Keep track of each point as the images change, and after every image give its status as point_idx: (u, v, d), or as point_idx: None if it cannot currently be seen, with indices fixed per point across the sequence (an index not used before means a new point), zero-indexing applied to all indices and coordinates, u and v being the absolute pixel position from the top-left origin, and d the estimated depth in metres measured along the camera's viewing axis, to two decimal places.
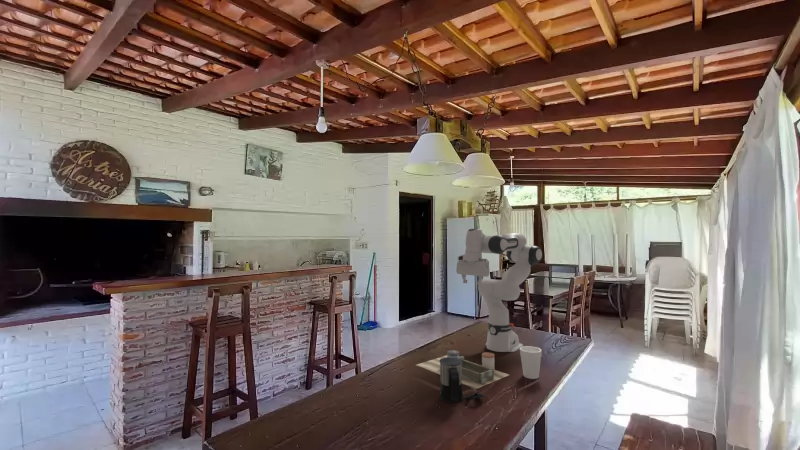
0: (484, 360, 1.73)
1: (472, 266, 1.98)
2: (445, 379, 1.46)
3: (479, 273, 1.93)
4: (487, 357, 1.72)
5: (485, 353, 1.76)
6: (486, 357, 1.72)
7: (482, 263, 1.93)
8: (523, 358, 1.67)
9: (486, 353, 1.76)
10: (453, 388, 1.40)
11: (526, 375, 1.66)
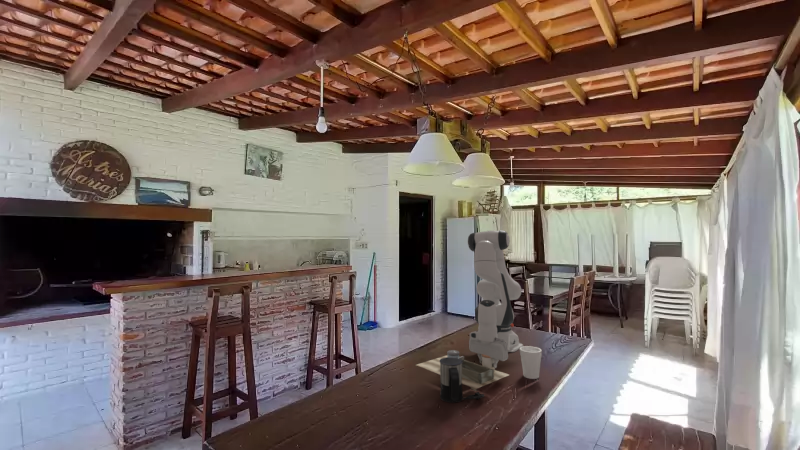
0: (484, 360, 1.73)
1: (487, 346, 1.73)
2: (445, 379, 1.46)
3: (497, 357, 1.69)
4: (487, 357, 1.72)
5: None
6: (486, 357, 1.72)
7: (499, 345, 1.68)
8: (523, 358, 1.67)
9: None
10: (453, 388, 1.40)
11: (526, 375, 1.66)
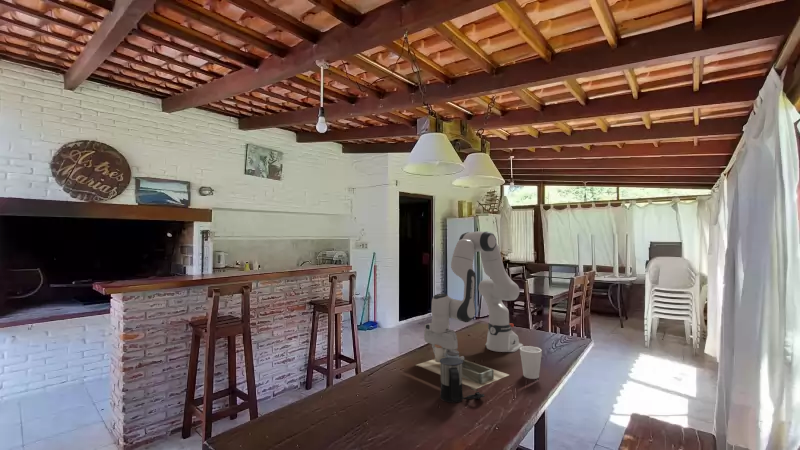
0: (436, 350, 1.83)
1: (439, 337, 1.83)
2: (446, 379, 1.46)
3: (447, 347, 1.79)
4: (438, 347, 1.82)
5: None
6: (438, 347, 1.82)
7: (449, 336, 1.78)
8: (523, 358, 1.67)
9: None
10: (453, 388, 1.40)
11: (526, 375, 1.66)
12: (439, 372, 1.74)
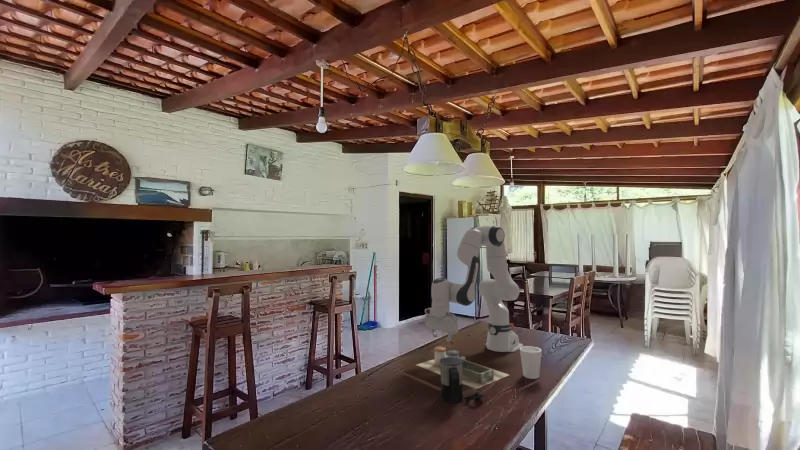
0: (436, 354, 1.82)
1: (440, 321, 1.83)
2: (446, 379, 1.46)
3: (448, 330, 1.79)
4: (438, 351, 1.82)
5: (437, 347, 1.86)
6: (437, 351, 1.82)
7: (450, 319, 1.78)
8: (523, 358, 1.67)
9: (438, 347, 1.86)
10: (453, 388, 1.40)
11: (526, 375, 1.66)
12: (439, 372, 1.74)
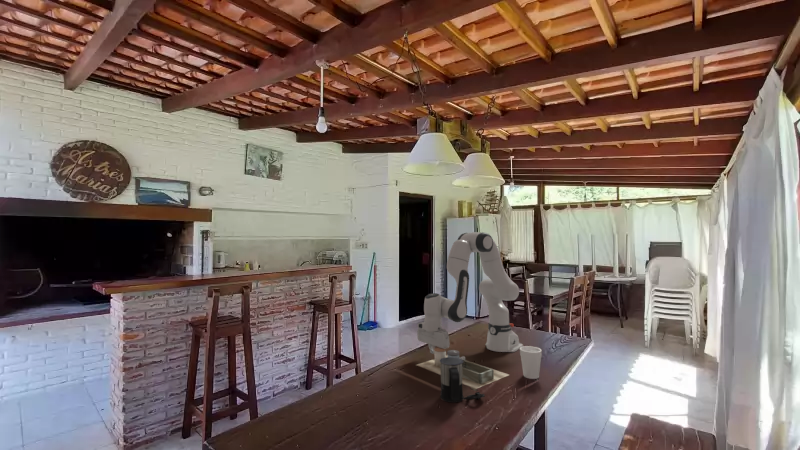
0: (436, 354, 1.83)
1: (432, 335, 1.88)
2: (446, 379, 1.46)
3: (439, 345, 1.83)
4: (438, 351, 1.82)
5: (437, 347, 1.86)
6: (437, 351, 1.82)
7: (441, 334, 1.82)
8: (523, 358, 1.67)
9: (438, 347, 1.86)
10: (453, 388, 1.40)
11: (526, 375, 1.66)
12: (439, 372, 1.74)
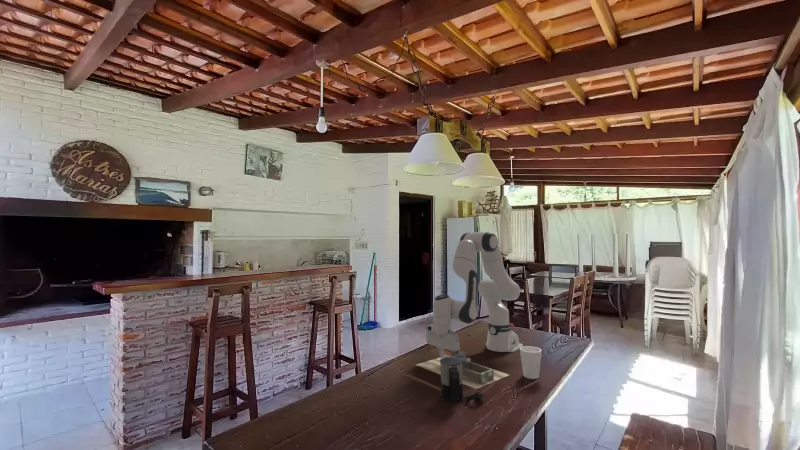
0: None
1: (441, 338, 1.82)
2: (446, 379, 1.46)
3: (449, 348, 1.78)
4: (448, 354, 1.77)
5: None
6: (447, 354, 1.77)
7: (451, 337, 1.77)
8: (523, 358, 1.67)
9: None
10: (453, 388, 1.40)
11: (526, 375, 1.66)
12: (439, 372, 1.74)
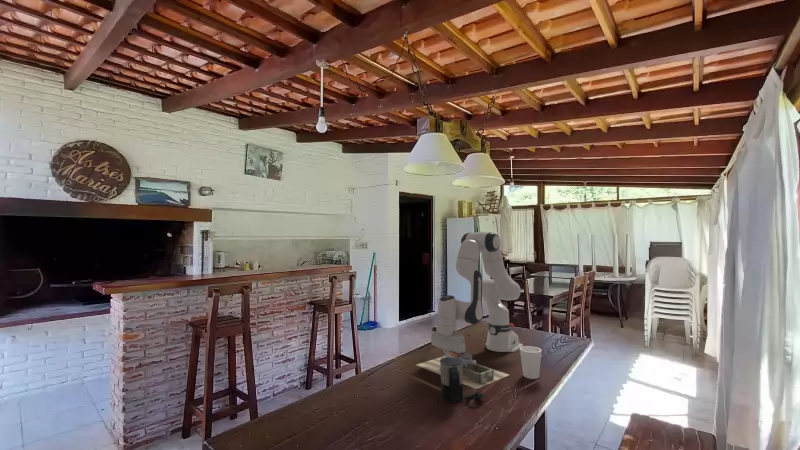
0: None
1: (447, 340, 1.79)
2: (446, 379, 1.46)
3: (455, 350, 1.75)
4: (454, 356, 1.74)
5: (452, 351, 1.78)
6: (453, 356, 1.74)
7: (457, 339, 1.74)
8: (523, 358, 1.67)
9: None
10: (453, 388, 1.40)
11: (526, 375, 1.66)
12: (439, 372, 1.74)
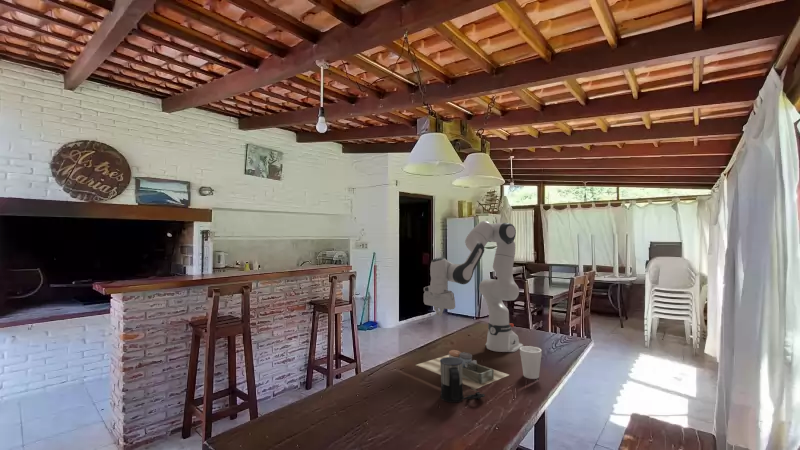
0: None
1: (438, 298, 1.93)
2: (446, 379, 1.46)
3: (445, 306, 1.88)
4: (453, 356, 1.74)
5: (452, 351, 1.78)
6: (453, 356, 1.74)
7: (447, 296, 1.87)
8: (523, 358, 1.67)
9: (453, 351, 1.78)
10: (453, 388, 1.40)
11: (526, 375, 1.66)
12: (439, 372, 1.74)
